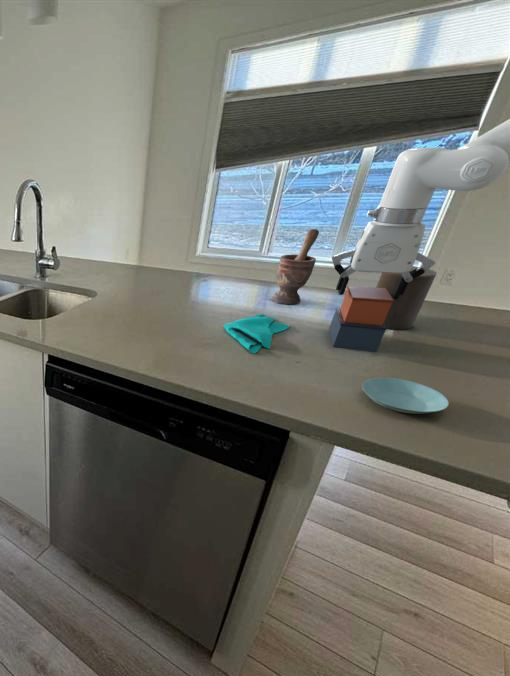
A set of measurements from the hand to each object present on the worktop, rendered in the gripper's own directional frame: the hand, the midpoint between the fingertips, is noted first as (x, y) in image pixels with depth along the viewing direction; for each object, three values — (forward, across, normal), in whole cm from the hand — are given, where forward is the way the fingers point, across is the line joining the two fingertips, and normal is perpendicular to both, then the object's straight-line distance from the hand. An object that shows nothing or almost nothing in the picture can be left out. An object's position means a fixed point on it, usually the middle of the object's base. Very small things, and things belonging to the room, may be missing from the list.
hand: (366, 295), depth 93 cm
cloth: (+12, -20, -2) cm, 24 cm away
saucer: (+11, +4, -29) cm, 32 cm away
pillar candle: (+11, +10, +15) cm, 21 cm away
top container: (+5, 0, 0) cm, 5 cm away
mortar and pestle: (+12, -12, +28) cm, 33 cm away
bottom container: (+11, 0, 0) cm, 11 cm away
